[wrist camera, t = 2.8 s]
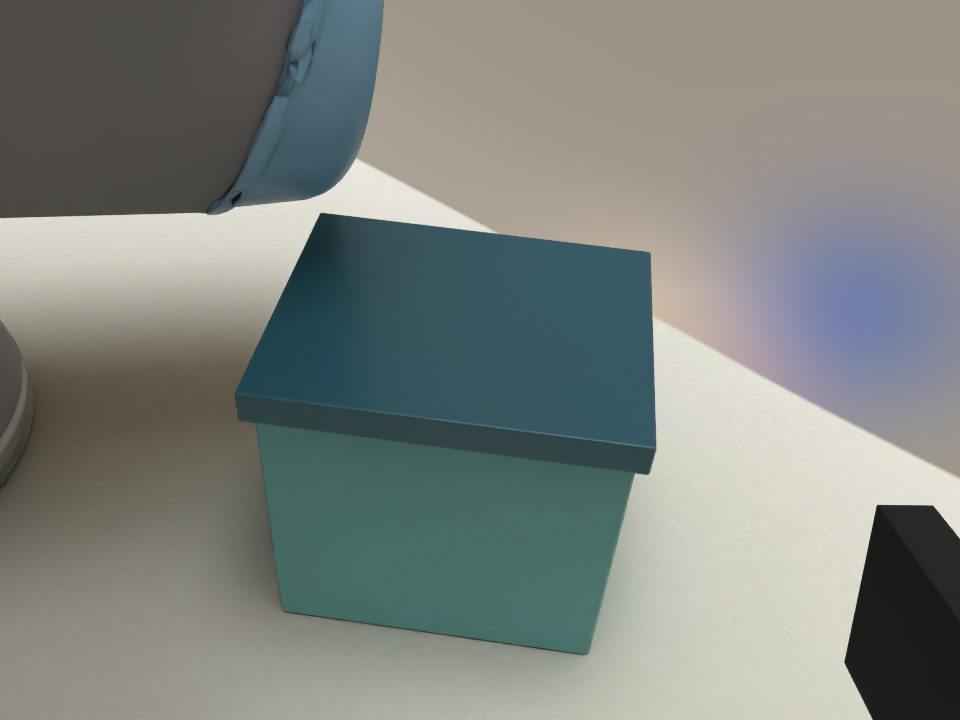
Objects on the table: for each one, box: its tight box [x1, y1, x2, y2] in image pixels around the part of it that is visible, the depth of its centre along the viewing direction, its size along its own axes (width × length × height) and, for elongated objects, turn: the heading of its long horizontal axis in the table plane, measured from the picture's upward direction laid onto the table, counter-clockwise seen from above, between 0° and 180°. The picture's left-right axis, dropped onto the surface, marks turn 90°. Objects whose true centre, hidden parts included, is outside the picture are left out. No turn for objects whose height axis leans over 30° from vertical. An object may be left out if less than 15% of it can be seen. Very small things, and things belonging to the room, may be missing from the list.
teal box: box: [235, 213, 656, 654], centre depth 29 cm, size 9×11×10 cm
